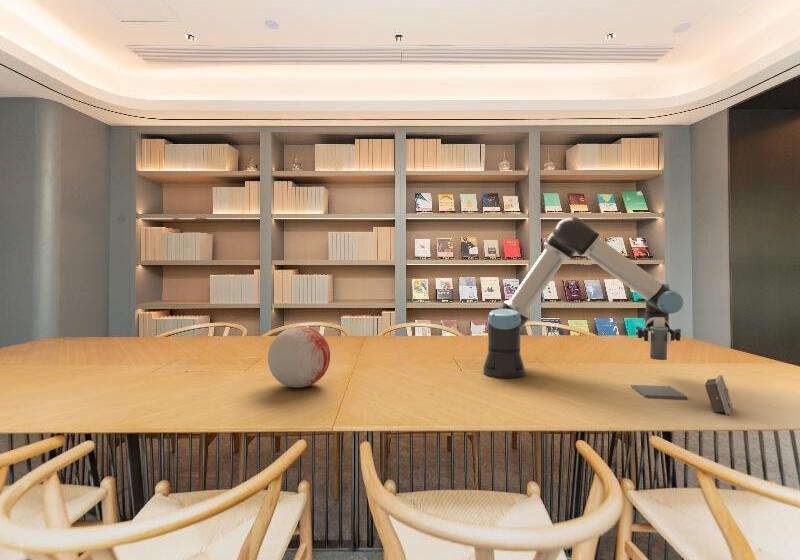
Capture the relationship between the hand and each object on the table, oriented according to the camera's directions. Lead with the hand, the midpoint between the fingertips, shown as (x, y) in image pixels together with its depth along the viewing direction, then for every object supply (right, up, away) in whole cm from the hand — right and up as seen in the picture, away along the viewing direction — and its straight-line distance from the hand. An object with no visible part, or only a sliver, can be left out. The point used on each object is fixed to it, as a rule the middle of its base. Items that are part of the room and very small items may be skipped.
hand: (659, 338), depth 144 cm
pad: (+2, -18, +5) cm, 19 cm away
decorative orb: (-113, -18, +12) cm, 115 cm away
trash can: (+2, -7, +5) cm, 9 cm away
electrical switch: (+10, -19, -12) cm, 24 cm away
